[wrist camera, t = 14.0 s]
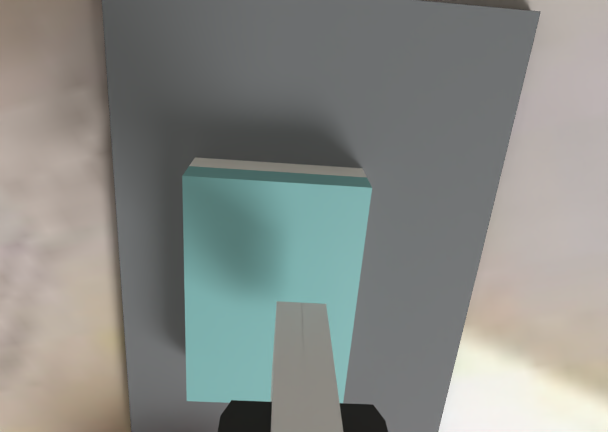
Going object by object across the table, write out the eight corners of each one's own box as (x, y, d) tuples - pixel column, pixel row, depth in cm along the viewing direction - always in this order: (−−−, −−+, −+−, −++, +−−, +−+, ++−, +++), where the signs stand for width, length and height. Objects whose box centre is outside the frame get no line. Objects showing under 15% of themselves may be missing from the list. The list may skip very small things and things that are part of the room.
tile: (362, 168, 17) (195, 157, 17) (372, 187, 15) (182, 176, 15) (337, 369, 21) (196, 363, 20) (342, 407, 19) (186, 401, 18)
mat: (106, -28, 15) (100, -29, 15) (531, 12, 16) (540, 11, 16) (136, 442, 23) (132, 453, 22) (426, 453, 24) (430, 463, 23)
